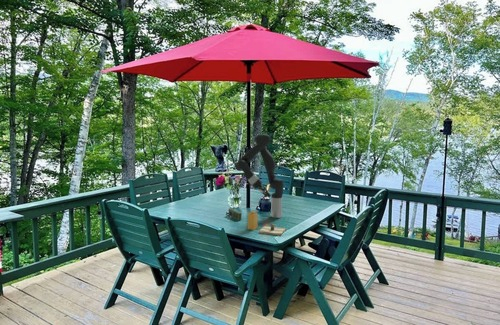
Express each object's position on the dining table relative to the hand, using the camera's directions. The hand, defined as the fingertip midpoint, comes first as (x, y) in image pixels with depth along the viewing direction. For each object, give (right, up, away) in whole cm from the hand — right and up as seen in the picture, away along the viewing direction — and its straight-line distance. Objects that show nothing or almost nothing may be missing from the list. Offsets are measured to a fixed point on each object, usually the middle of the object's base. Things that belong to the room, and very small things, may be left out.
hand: (268, 196), depth 260 cm
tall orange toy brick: (-13, -24, -4) cm, 28 cm away
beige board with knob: (+2, -25, -12) cm, 28 cm away
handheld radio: (-29, -21, +28) cm, 46 cm away
